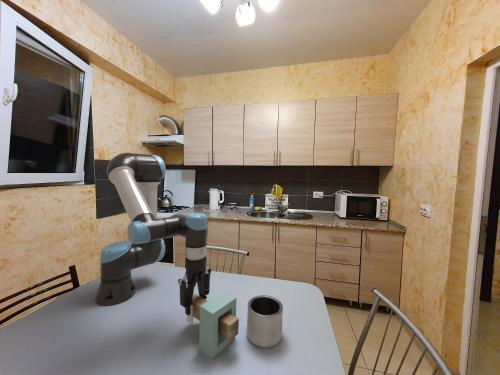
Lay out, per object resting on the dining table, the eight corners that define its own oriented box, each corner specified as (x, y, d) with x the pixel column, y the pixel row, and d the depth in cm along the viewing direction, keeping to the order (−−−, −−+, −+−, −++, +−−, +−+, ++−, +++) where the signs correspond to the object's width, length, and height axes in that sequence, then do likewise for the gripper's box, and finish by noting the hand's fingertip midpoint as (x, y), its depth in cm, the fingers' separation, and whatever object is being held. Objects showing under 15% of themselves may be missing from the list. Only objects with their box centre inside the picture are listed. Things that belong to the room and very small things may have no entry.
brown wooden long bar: (185, 311, 78) (185, 298, 78) (194, 306, 81) (194, 293, 81) (229, 341, 65) (230, 325, 65) (238, 333, 68) (238, 318, 68)
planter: (272, 356, 67) (273, 322, 66) (239, 338, 74) (240, 307, 73) (287, 331, 78) (288, 302, 77) (257, 318, 84) (258, 291, 83)
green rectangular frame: (199, 348, 69) (199, 305, 68) (222, 329, 77) (223, 291, 76) (211, 359, 65) (212, 313, 64) (235, 337, 74) (236, 297, 73)
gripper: (181, 267, 68) (181, 337, 69) (220, 252, 81) (219, 311, 83) (168, 260, 72) (168, 326, 74) (207, 247, 86) (206, 303, 87)
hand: (195, 318), depth 78 cm, fingers closed on brown wooden long bar, 4 cm apart
